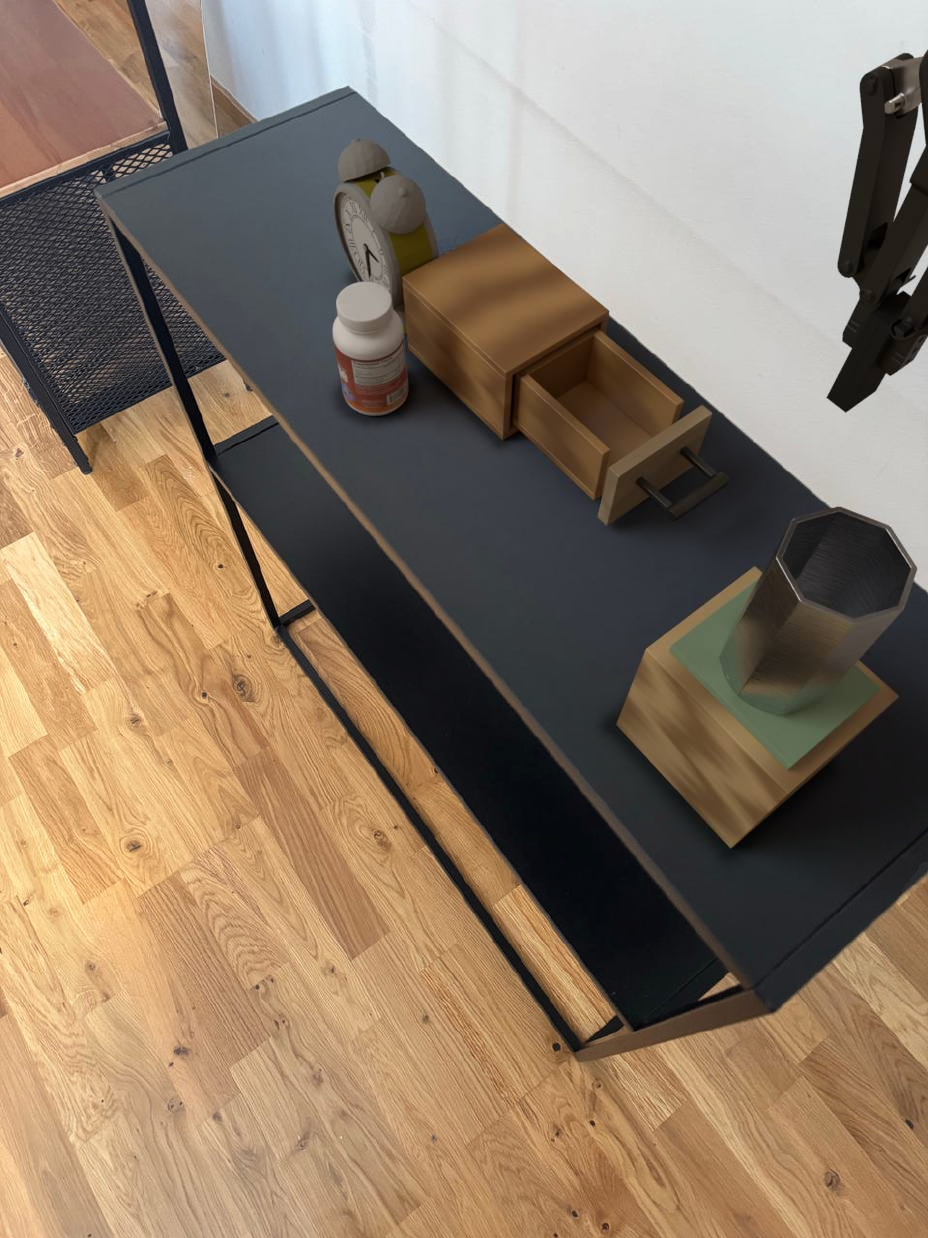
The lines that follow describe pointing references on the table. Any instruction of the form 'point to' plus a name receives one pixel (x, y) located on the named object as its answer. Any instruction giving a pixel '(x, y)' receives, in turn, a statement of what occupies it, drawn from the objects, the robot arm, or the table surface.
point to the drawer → (612, 426)
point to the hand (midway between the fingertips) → (851, 394)
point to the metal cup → (816, 609)
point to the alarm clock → (381, 220)
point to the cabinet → (492, 319)
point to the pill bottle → (370, 349)
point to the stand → (721, 736)
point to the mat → (775, 732)
